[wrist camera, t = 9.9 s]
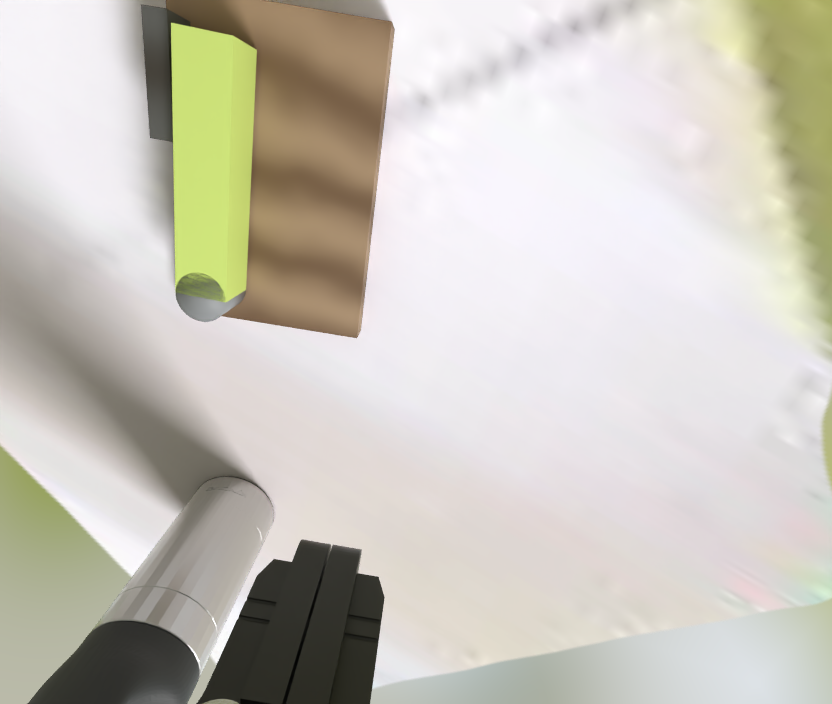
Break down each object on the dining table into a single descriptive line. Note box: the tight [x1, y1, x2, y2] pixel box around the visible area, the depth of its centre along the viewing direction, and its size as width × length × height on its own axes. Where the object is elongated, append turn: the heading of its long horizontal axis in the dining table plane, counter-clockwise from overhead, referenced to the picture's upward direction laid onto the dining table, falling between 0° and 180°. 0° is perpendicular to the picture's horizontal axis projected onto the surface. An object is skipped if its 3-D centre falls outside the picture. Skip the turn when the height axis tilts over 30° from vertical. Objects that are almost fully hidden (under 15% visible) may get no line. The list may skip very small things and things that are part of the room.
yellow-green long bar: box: [171, 23, 257, 322], centre depth 35 cm, size 20×4×4 cm, turn 169°
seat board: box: [141, 0, 395, 338], centre depth 36 cm, size 24×16×5 cm, turn 171°
